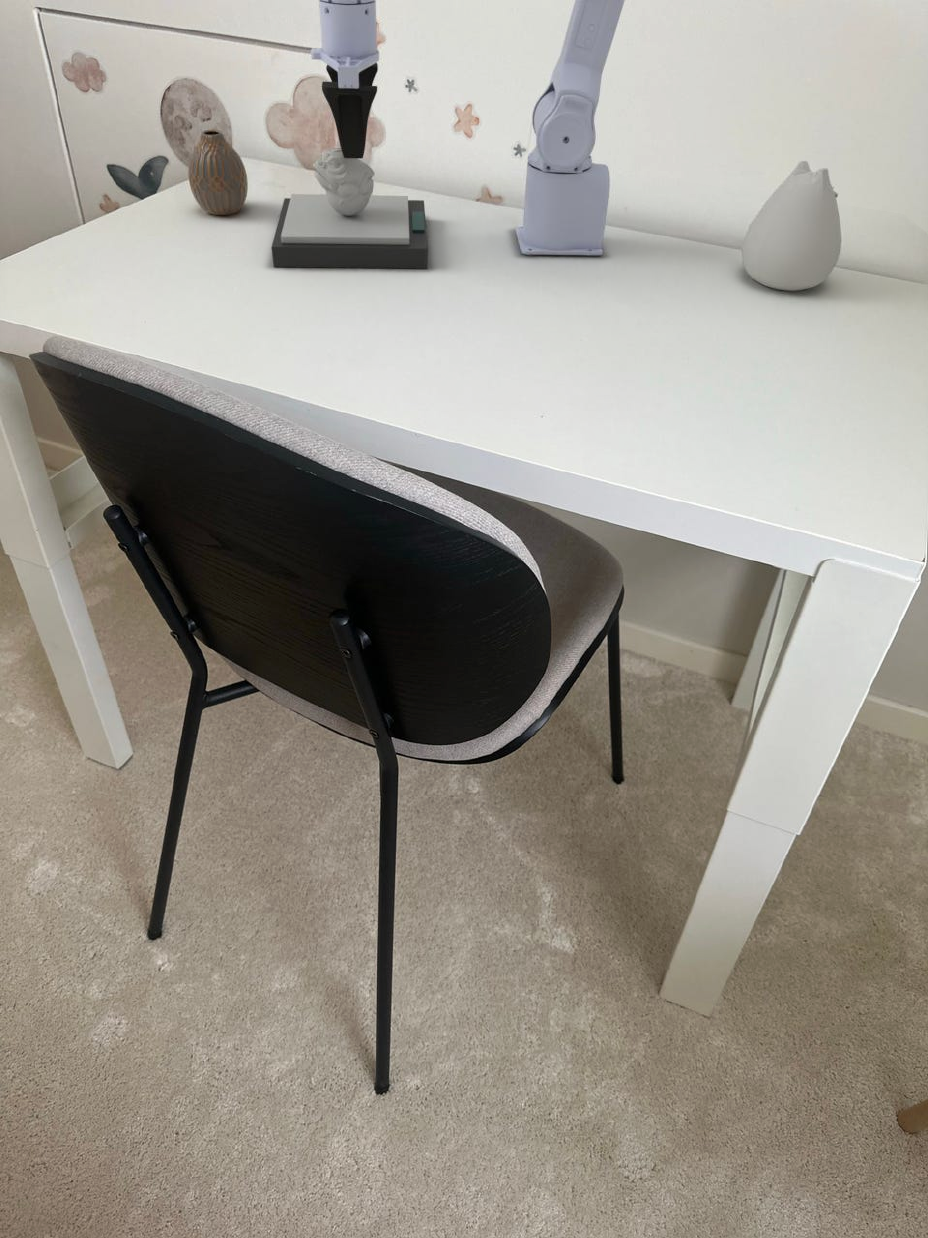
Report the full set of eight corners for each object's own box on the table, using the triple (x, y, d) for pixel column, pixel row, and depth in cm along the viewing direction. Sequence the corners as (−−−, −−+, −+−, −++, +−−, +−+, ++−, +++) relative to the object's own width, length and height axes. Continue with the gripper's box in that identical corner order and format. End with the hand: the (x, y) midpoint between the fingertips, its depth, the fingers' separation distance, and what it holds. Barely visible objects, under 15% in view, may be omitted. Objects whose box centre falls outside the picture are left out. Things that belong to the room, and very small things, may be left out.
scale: (424, 218, 111) (424, 193, 109) (427, 268, 99) (427, 241, 97) (286, 216, 110) (283, 190, 108) (273, 267, 98) (270, 239, 96)
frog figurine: (309, 209, 103) (304, 143, 99) (367, 202, 106) (364, 138, 101) (325, 226, 99) (320, 159, 95) (384, 220, 102) (382, 153, 97)
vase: (183, 215, 109) (170, 136, 103) (211, 197, 114) (199, 121, 108) (234, 222, 108) (223, 143, 102) (260, 204, 113) (251, 128, 107)
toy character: (850, 287, 99) (888, 171, 91) (783, 305, 95) (817, 185, 87) (781, 255, 106) (811, 145, 98) (716, 271, 101) (742, 157, 93)
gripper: (311, -13, 95) (321, 128, 104) (302, 11, 84) (314, 166, 93) (377, -12, 95) (382, 129, 105) (377, 13, 85) (381, 167, 94)
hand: (354, 147), depth 99 cm, fingers open, 7 cm apart
